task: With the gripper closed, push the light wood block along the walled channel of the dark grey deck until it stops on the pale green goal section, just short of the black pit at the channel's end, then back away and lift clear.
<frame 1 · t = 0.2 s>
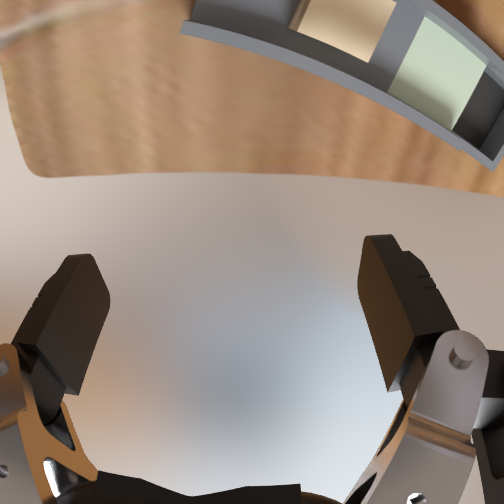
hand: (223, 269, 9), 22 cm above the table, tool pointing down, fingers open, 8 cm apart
wood block: (330, 13, 18), point 3 cm above the table, touching channel deck
channel deck: (392, 47, 22), on the table
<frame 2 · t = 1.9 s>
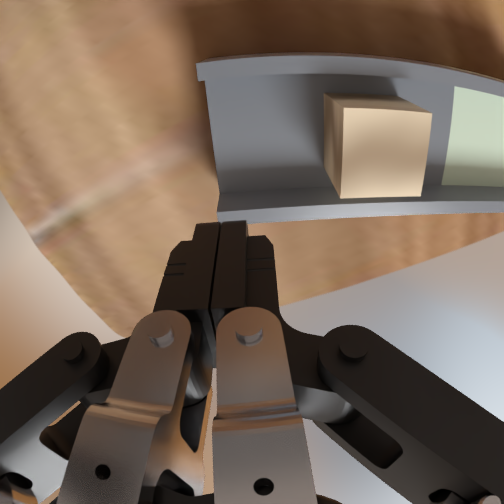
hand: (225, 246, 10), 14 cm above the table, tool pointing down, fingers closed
wood block: (361, 130, 19), point 3 cm above the table, touching channel deck
channel deck: (430, 123, 21), on the table
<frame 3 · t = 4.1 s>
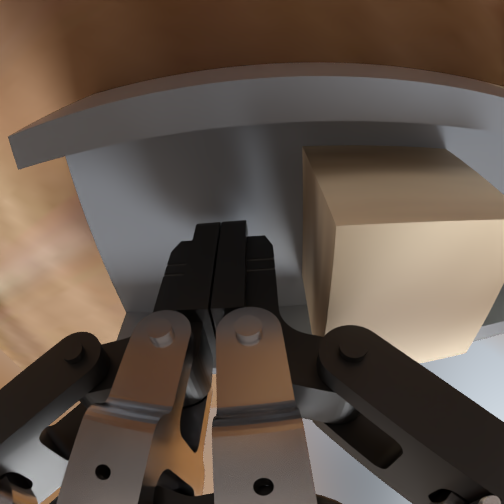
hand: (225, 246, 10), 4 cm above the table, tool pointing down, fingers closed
wood block: (373, 214, 11), point 3 cm above the table, touching channel deck, gripper
channel deck: (469, 180, 13), on the table
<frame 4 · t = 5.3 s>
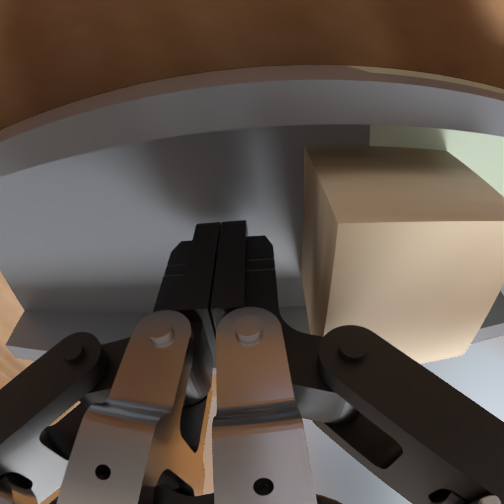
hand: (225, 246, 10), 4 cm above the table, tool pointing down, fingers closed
wood block: (373, 215, 11), point 3 cm above the table, touching gripper
channel deck: (343, 183, 13), on the table
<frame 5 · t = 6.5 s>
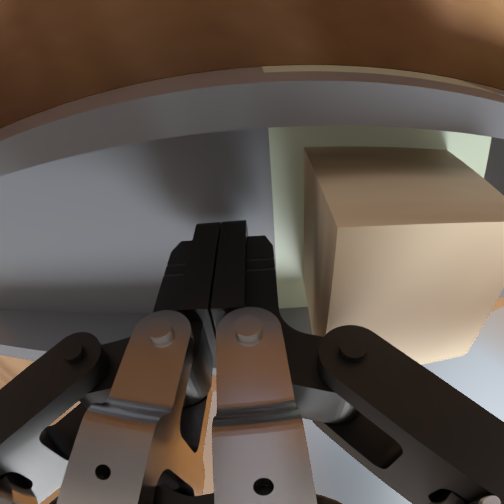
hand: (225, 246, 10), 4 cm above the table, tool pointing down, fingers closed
wood block: (374, 215, 11), point 3 cm above the table, touching channel deck, gripper
channel deck: (270, 187, 13), on the table
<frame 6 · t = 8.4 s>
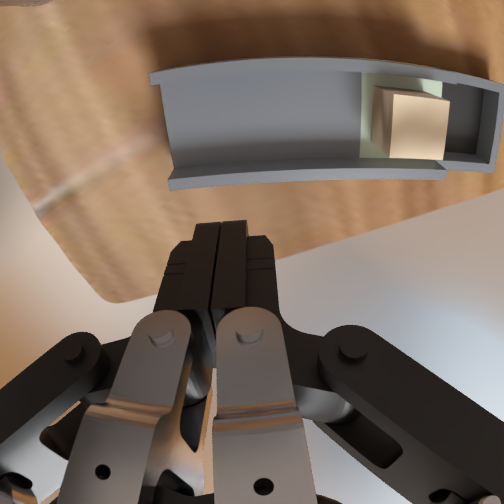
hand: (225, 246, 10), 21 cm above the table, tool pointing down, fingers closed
wood block: (398, 114, 24), point 3 cm above the table, touching channel deck
channel deck: (351, 108, 27), on the table
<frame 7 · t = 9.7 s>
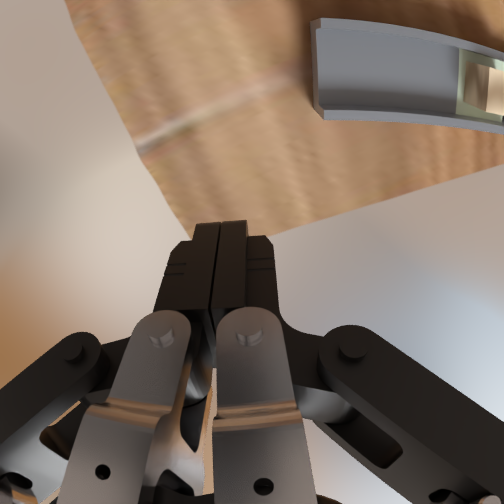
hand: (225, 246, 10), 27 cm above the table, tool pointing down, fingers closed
wood block: (480, 84, 26), point 3 cm above the table, touching channel deck
channel deck: (444, 77, 29), on the table
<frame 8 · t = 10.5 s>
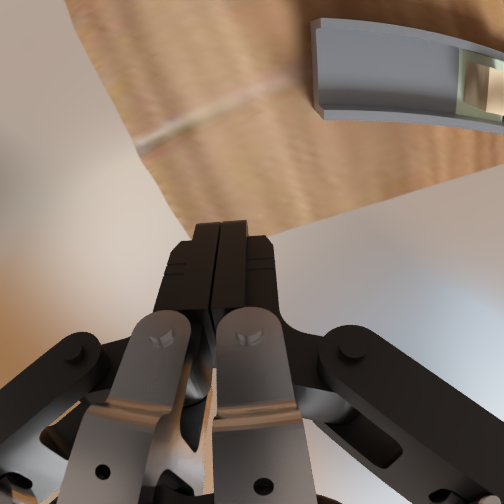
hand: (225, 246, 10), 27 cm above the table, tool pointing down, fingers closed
wood block: (480, 84, 26), point 3 cm above the table, touching channel deck
channel deck: (444, 77, 29), on the table
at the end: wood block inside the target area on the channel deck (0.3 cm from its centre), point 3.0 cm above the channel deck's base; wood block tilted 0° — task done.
